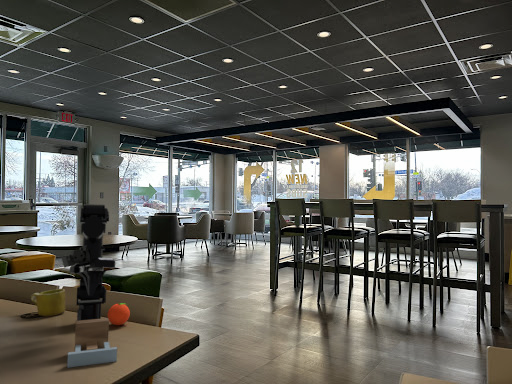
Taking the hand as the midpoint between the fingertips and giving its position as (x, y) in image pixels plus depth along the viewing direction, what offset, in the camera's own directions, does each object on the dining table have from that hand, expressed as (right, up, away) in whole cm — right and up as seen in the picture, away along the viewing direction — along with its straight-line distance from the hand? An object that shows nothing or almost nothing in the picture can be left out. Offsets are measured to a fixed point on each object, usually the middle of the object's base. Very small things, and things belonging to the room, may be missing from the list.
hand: (90, 295), depth 117 cm
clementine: (+5, -13, +11) cm, 18 cm away
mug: (-26, -13, +24) cm, 37 cm away
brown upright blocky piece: (+8, -11, -17) cm, 22 cm away
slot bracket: (+9, -11, -19) cm, 24 cm away
